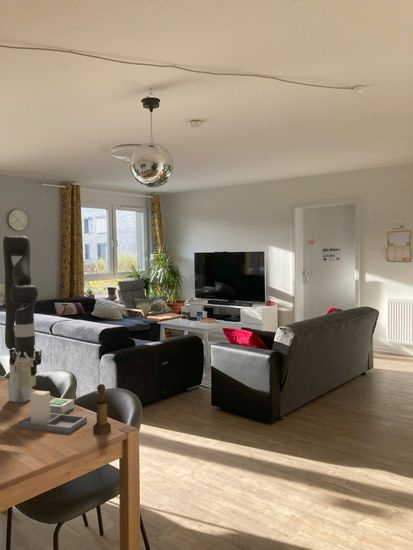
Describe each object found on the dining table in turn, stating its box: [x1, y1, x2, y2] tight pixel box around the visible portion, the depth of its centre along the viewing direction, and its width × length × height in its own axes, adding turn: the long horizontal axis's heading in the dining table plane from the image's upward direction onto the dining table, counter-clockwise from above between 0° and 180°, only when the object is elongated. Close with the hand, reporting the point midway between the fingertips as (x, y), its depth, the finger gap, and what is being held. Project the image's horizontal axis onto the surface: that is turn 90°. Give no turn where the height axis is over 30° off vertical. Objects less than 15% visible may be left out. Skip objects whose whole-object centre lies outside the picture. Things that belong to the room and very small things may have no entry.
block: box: [29, 390, 51, 424], centre depth 177 cm, size 6×4×12 cm, turn 74°
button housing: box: [50, 397, 75, 414], centre depth 191 cm, size 9×9×5 cm
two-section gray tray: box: [17, 413, 88, 434], centre depth 175 cm, size 22×12×4 cm, turn 74°
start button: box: [50, 399, 67, 405], centre depth 191 cm, size 5×5×3 cm
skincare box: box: [16, 357, 37, 388], centre depth 186 cm, size 6×4×12 cm
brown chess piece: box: [92, 383, 112, 436], centre depth 171 cm, size 7×6×18 cm
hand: (26, 374), depth 186 cm, fingers closed on skincare box, 6 cm apart
